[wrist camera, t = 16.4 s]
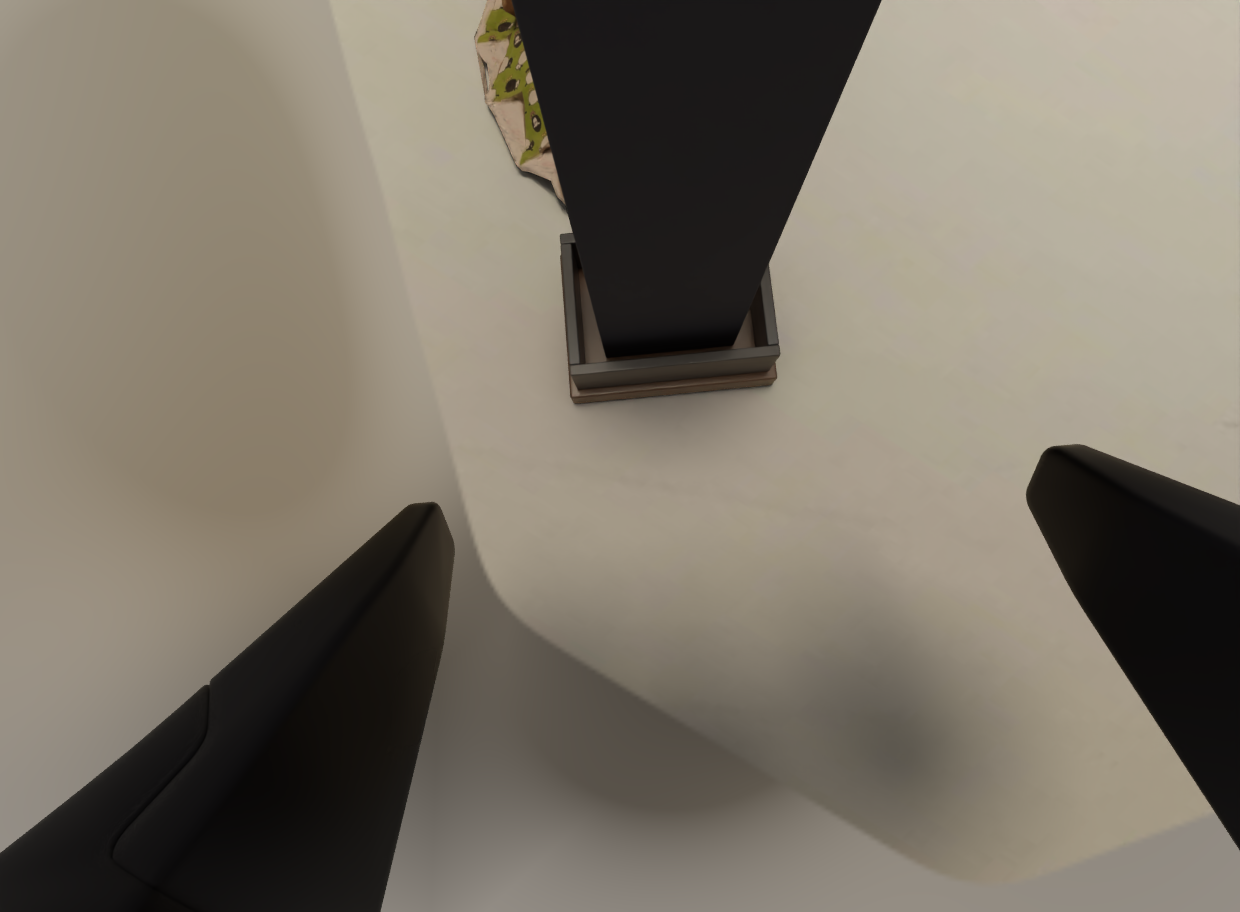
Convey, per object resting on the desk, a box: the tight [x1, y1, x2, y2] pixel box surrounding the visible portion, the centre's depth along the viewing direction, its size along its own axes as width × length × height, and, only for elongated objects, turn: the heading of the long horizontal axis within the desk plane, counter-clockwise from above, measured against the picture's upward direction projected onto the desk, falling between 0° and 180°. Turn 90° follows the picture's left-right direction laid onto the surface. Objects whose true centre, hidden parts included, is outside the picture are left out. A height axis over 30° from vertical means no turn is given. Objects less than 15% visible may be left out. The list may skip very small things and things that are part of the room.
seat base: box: [560, 233, 780, 404], centre depth 22 cm, size 6×8×3 cm
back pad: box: [511, 0, 882, 358], centre depth 14 cm, size 3×5×16 cm, turn 95°
